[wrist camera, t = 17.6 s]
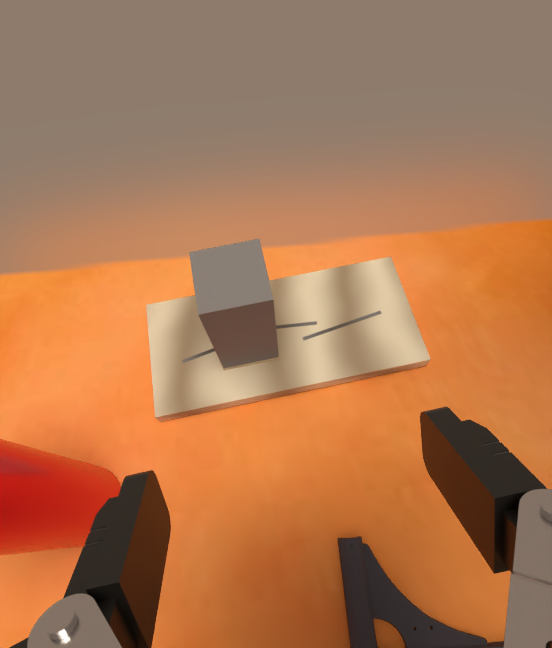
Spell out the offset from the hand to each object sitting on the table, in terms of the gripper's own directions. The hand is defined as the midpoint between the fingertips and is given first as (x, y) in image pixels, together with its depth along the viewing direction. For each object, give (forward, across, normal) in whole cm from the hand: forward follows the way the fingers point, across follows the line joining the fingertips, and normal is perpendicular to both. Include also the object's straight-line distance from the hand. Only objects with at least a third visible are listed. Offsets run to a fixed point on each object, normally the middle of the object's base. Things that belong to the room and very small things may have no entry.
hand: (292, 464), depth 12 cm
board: (+23, -1, +6) cm, 24 cm away
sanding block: (+22, +2, +5) cm, 23 cm away
